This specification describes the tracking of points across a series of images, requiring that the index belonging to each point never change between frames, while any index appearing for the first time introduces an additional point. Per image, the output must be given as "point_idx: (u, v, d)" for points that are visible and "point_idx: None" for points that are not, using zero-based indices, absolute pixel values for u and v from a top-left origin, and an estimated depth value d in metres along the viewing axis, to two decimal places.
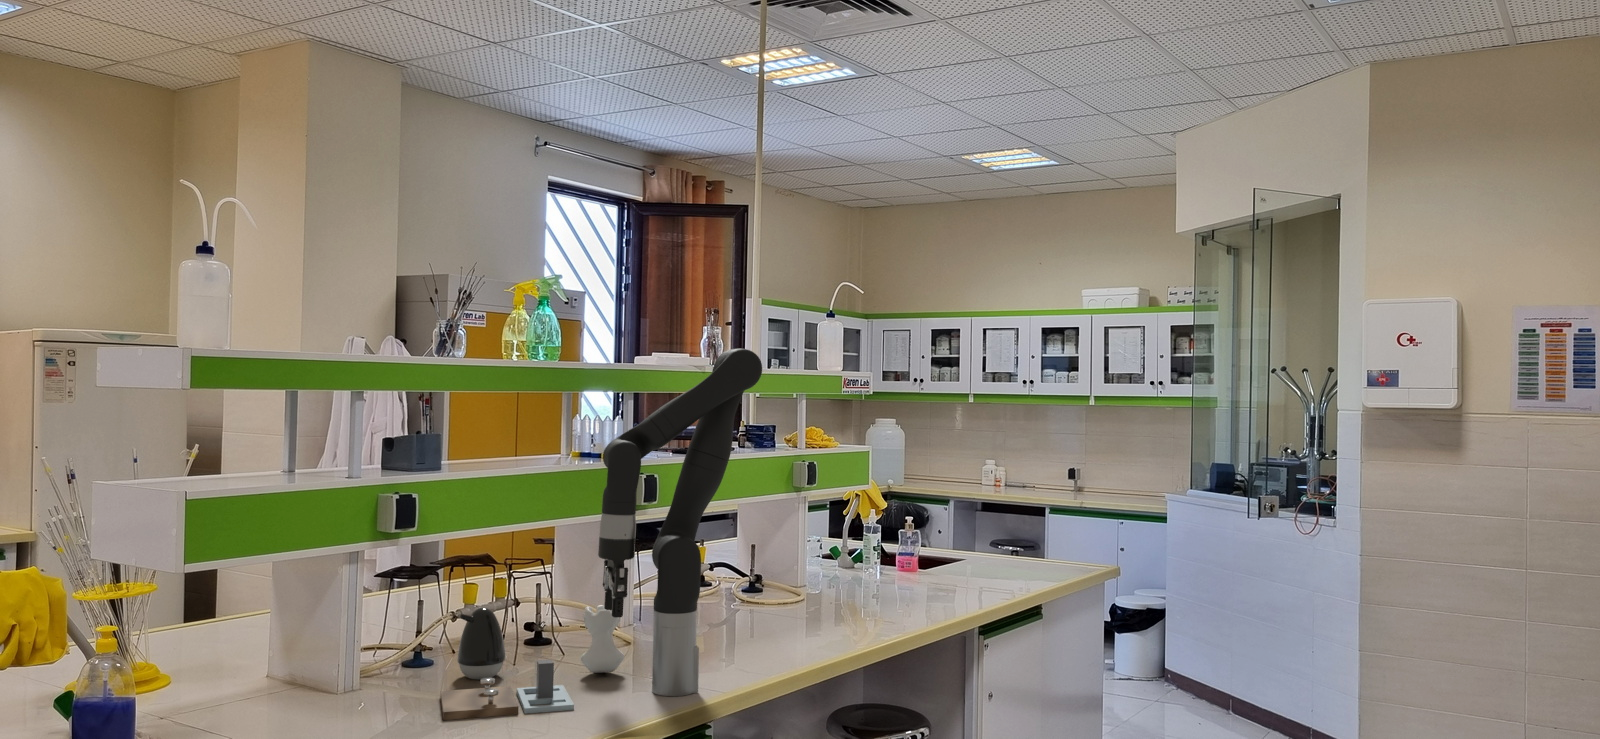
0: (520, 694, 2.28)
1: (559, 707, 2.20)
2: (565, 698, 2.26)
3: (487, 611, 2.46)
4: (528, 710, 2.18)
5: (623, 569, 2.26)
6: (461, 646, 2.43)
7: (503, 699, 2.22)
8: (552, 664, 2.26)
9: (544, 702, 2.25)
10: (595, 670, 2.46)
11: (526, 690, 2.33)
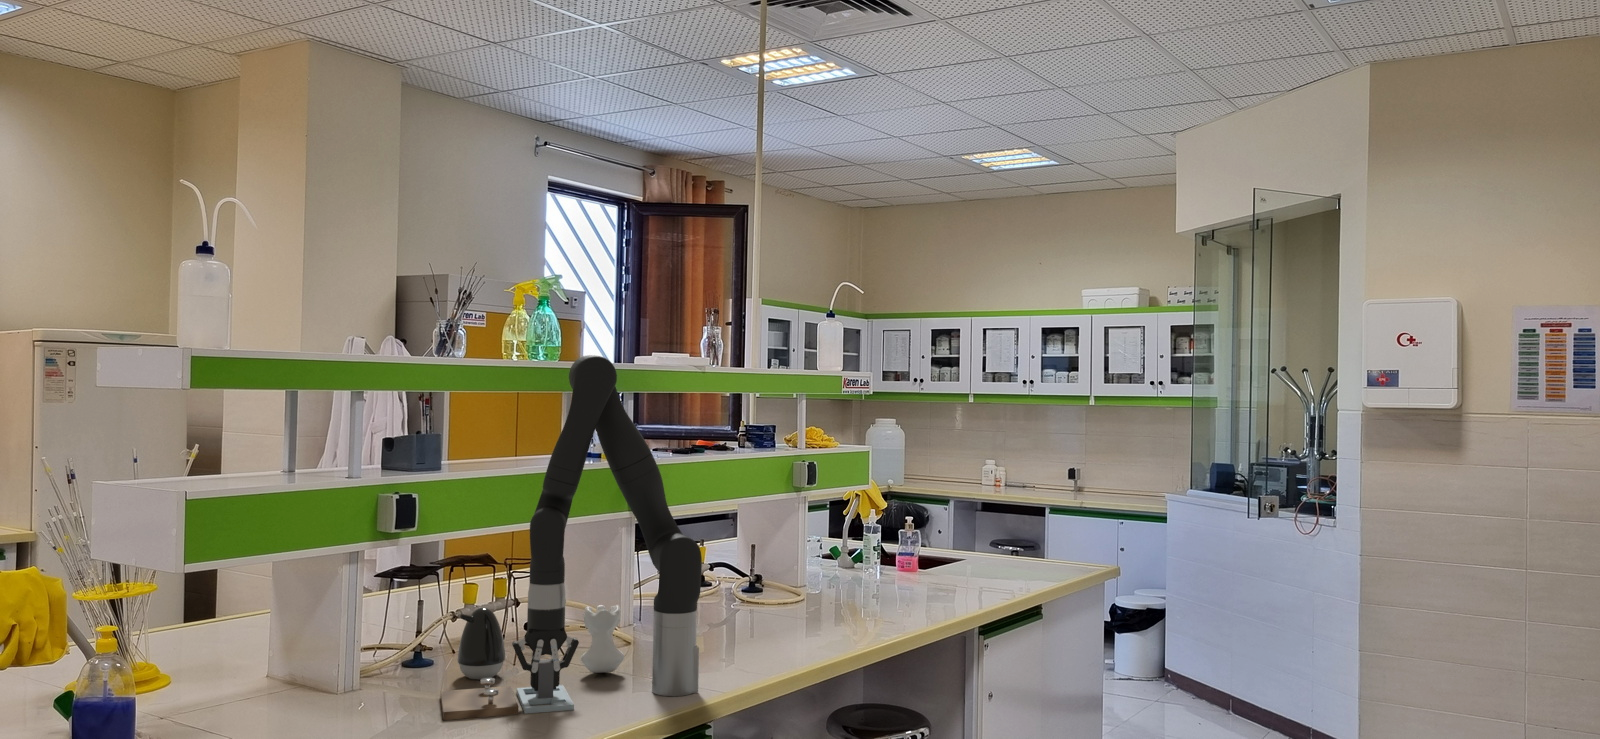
0: (520, 694, 2.28)
1: (559, 707, 2.20)
2: (565, 698, 2.26)
3: (487, 611, 2.46)
4: (528, 710, 2.18)
5: None
6: (461, 646, 2.43)
7: (503, 699, 2.22)
8: (552, 664, 2.26)
9: (544, 702, 2.25)
10: (595, 670, 2.46)
11: (526, 690, 2.33)
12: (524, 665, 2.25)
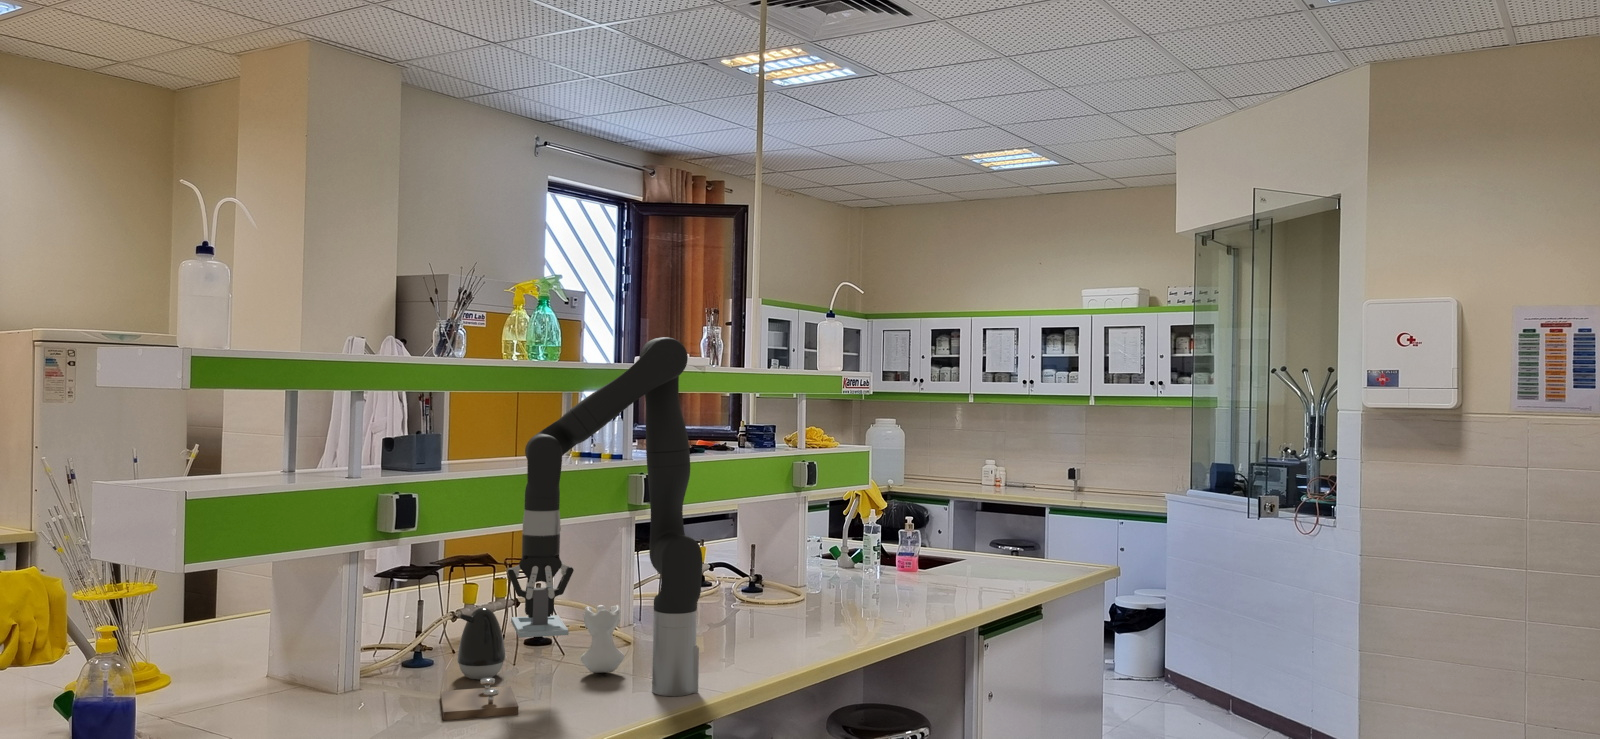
0: (515, 622, 2.28)
1: (553, 632, 2.20)
2: (560, 625, 2.26)
3: (487, 611, 2.46)
4: (522, 634, 2.18)
5: None
6: (461, 646, 2.43)
7: (503, 699, 2.22)
8: (547, 591, 2.26)
9: (539, 629, 2.25)
10: (595, 670, 2.46)
11: (521, 619, 2.32)
12: (519, 591, 2.25)
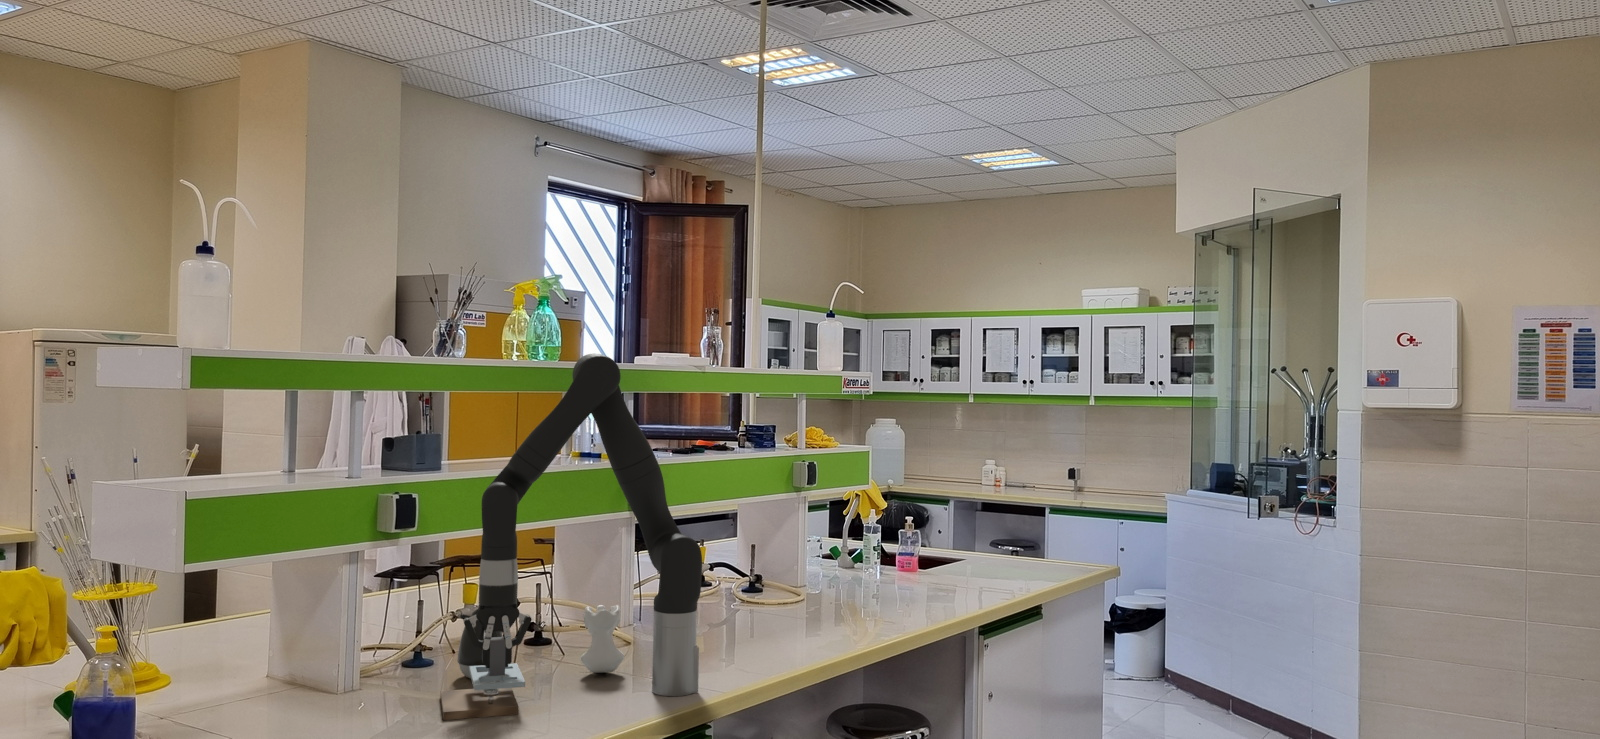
0: (472, 672, 2.25)
1: (510, 684, 2.17)
2: (517, 675, 2.23)
3: None
4: (478, 687, 2.15)
5: None
6: (461, 646, 2.43)
7: (503, 699, 2.22)
8: (504, 641, 2.23)
9: (495, 679, 2.22)
10: (595, 670, 2.46)
11: (479, 668, 2.29)
12: (475, 642, 2.22)
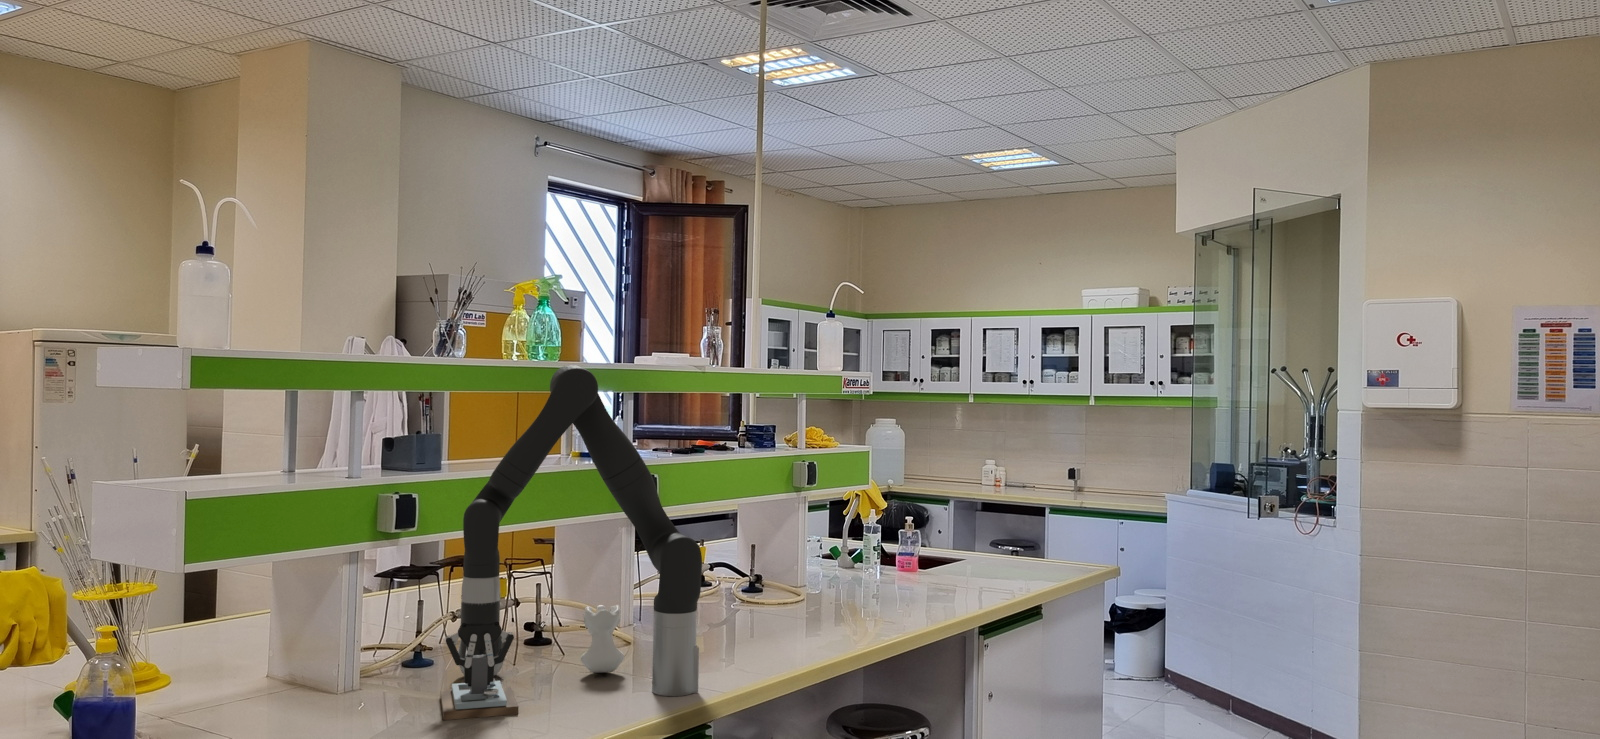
0: (454, 690, 2.24)
1: (491, 703, 2.16)
2: (499, 694, 2.21)
3: None
4: (459, 706, 2.14)
5: None
6: (461, 646, 2.43)
7: None
8: (486, 659, 2.22)
9: (477, 698, 2.21)
10: (595, 670, 2.46)
11: (461, 686, 2.28)
12: (457, 660, 2.20)
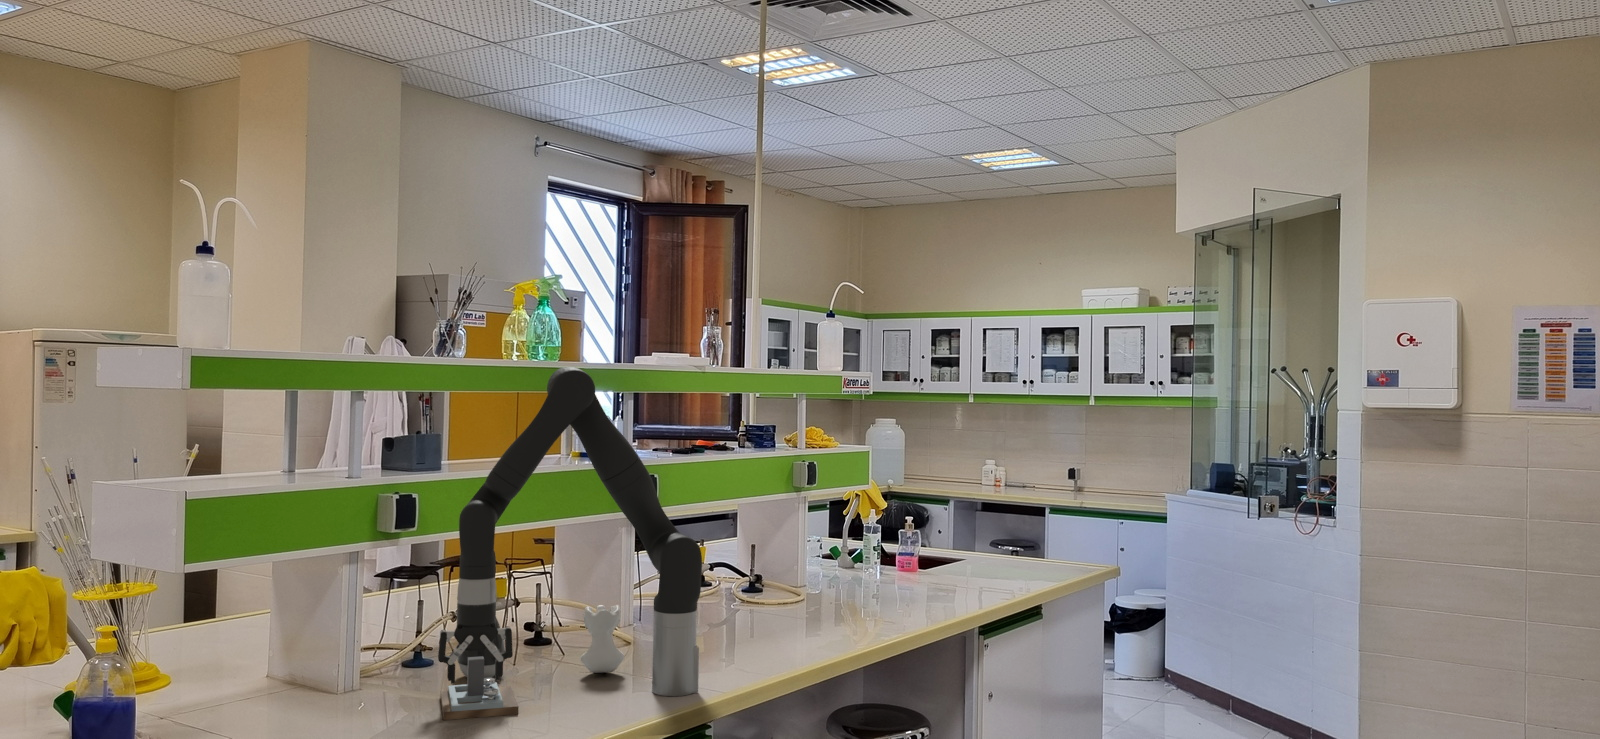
0: (450, 692, 2.24)
1: (488, 705, 2.16)
2: (495, 696, 2.21)
3: None
4: (455, 708, 2.14)
5: (510, 628, 2.25)
6: None
7: (503, 699, 2.22)
8: (482, 661, 2.22)
9: (474, 700, 2.20)
10: (595, 670, 2.46)
11: (458, 688, 2.28)
12: (441, 656, 2.19)
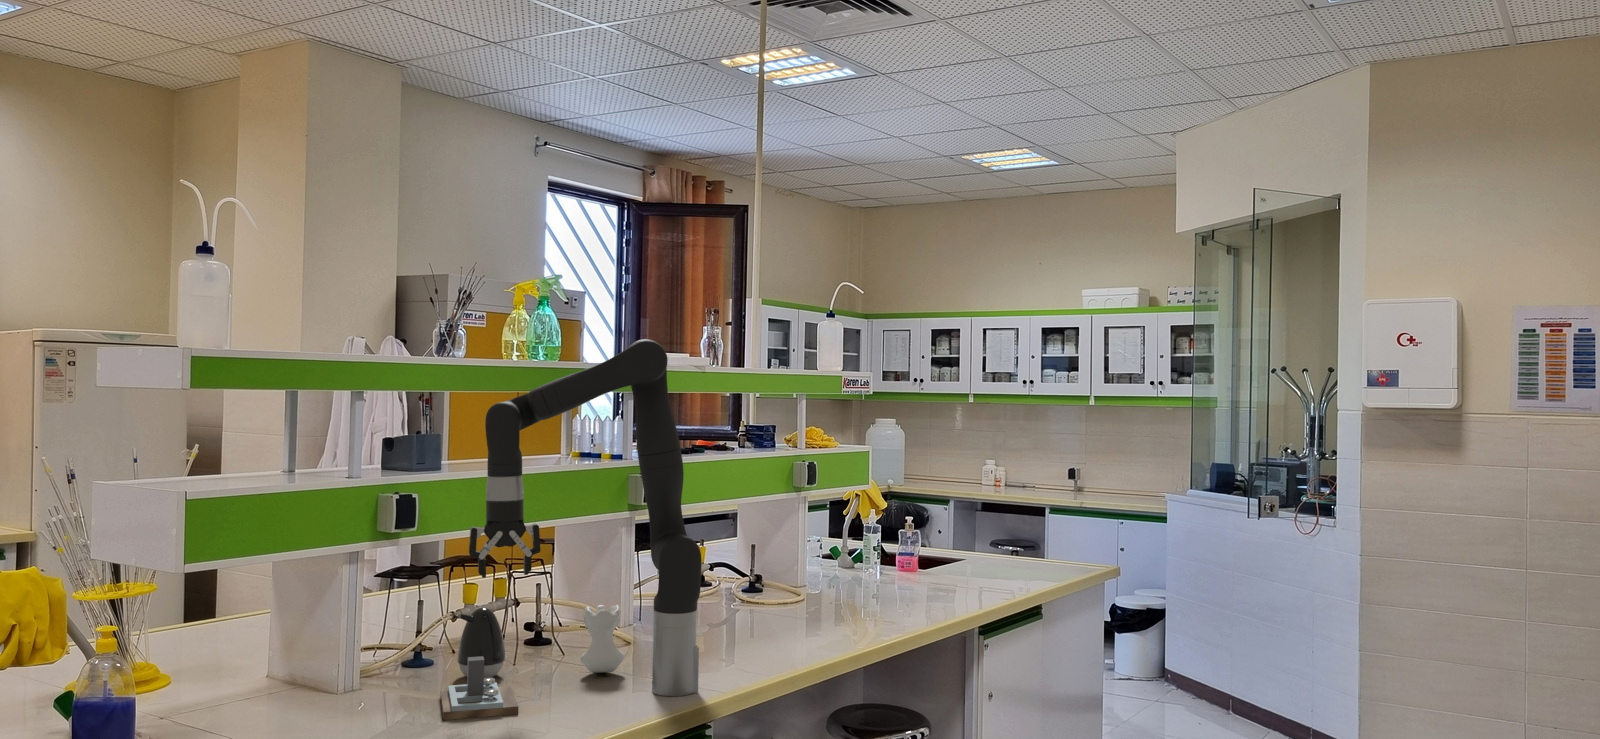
0: (450, 692, 2.24)
1: (488, 705, 2.16)
2: (495, 696, 2.21)
3: (487, 611, 2.46)
4: (455, 708, 2.14)
5: (537, 525, 2.34)
6: (461, 646, 2.43)
7: (503, 699, 2.22)
8: (482, 661, 2.22)
9: (474, 700, 2.20)
10: (595, 670, 2.46)
11: (458, 688, 2.28)
12: (472, 551, 2.28)
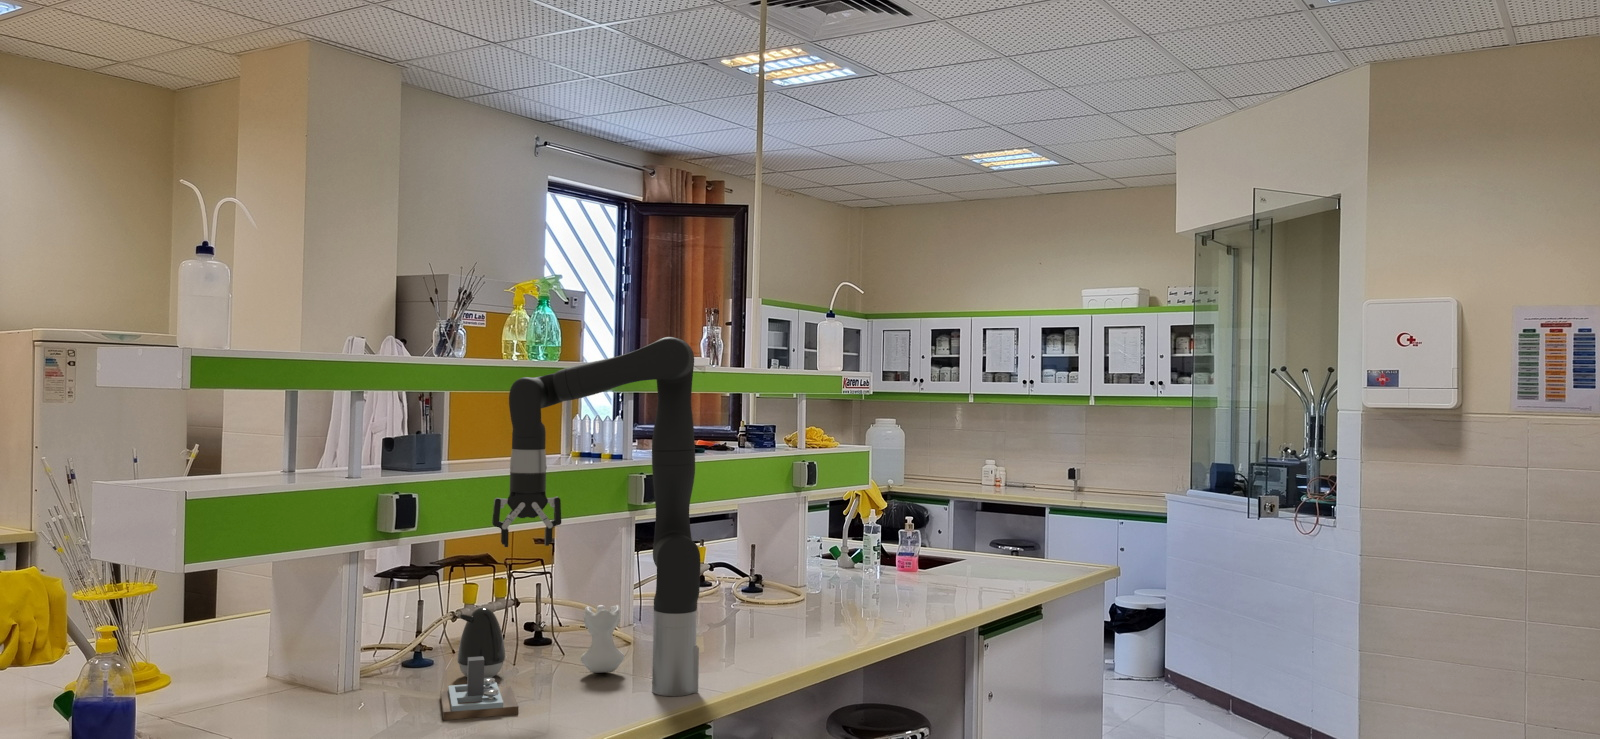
0: (450, 692, 2.24)
1: (488, 705, 2.16)
2: (495, 696, 2.21)
3: (487, 611, 2.46)
4: (455, 708, 2.14)
5: None
6: (461, 646, 2.43)
7: (503, 699, 2.22)
8: (482, 661, 2.22)
9: (474, 700, 2.20)
10: (595, 670, 2.46)
11: (458, 688, 2.28)
12: (496, 521, 2.35)
